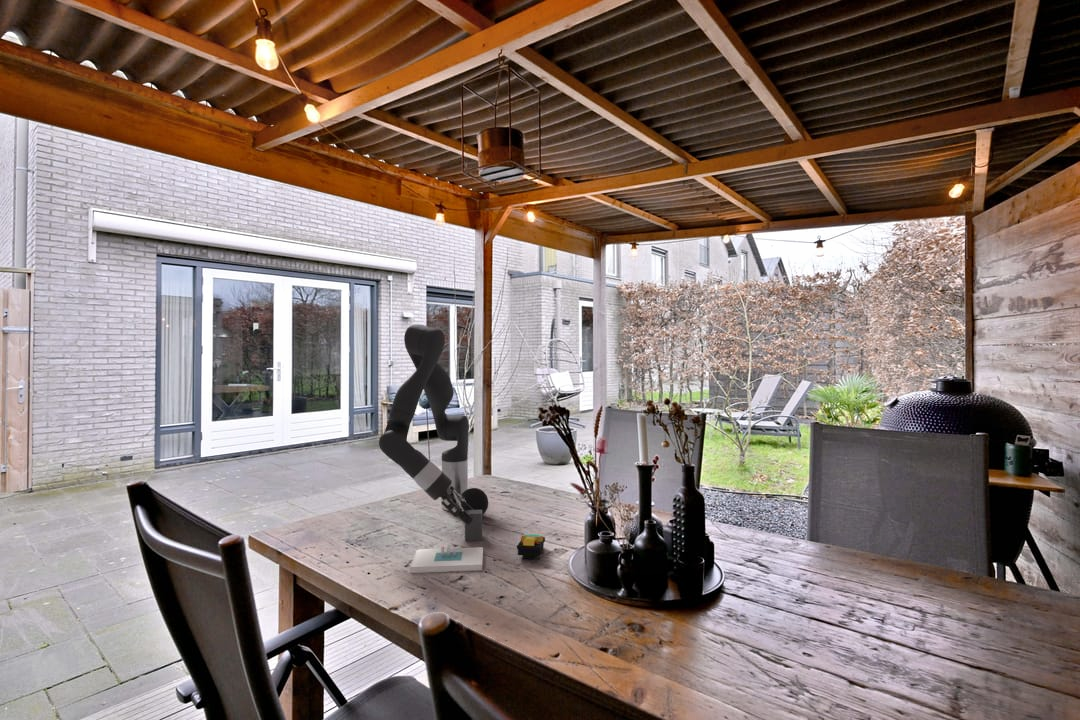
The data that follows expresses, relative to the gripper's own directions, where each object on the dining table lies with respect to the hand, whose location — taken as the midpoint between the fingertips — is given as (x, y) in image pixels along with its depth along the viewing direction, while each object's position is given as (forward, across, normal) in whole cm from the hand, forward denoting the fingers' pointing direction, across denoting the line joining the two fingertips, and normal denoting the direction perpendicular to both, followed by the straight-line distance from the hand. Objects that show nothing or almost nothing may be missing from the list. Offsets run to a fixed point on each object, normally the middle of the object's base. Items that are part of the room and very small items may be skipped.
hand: (471, 517), depth 158 cm
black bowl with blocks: (+17, -13, -8) cm, 23 cm away
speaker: (+4, +20, +5) cm, 21 cm away
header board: (+1, -18, +8) cm, 19 cm away
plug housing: (+5, 0, +4) cm, 6 cm away
